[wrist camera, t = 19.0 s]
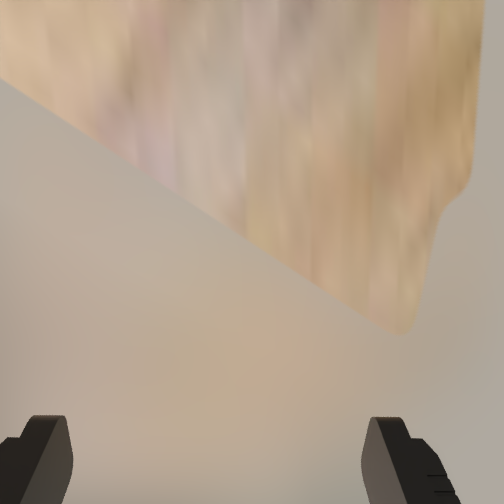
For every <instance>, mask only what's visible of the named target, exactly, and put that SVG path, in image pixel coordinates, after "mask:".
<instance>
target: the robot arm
mask: <svg viewBox="0 0 504 504" xmlns="http://www.w3.org/2000/svg"><path fill="white" fill-rule="evenodd" d="M72 468H73V452H72V448H71V442H70V437H69V432H68V426H67V421H66V418H65V416H60V415H59V416H58V415H34V416H32V417H31V418H30V419H29V421H28V422H27V424H26V426H25V428H24V430H23V432H22V434H21V436H20V438H13V437H12V438H11V437H10V438H9V437H7V438H6V439H5V440H4V441H3V442H2V443H1V444H0V504H61V503H62V501H63V498H64V496H65V493H66V490H67V487H68V485H69V482H70V479H71V475H72ZM361 468H362V476H363V481H364V484H365V487H366V491H367V494H368V498H369V502H370V504H461V503H460V500H459V498H458V497H457V496H456V495H455V490H454V488H453V486H452V484H451V482H450V480H449V479H448V478H447V473H446V471H445V469H444V467H443V465H442V463H441V461H440V459H439V457H438V455H437V454H436V453H435V452H434V451H433V450H432V449H431V447H430V446H429V445H428V444H427V443H426V442H425V441H424V440H423V439H416V438H411V437H410V435H409V433H408V430H407V428H406V426H405V423H404V422H403V420H402V419H401V418H400V417H372V418H371V419H370V422H369V426H368V430H367V434H366V439H365V443H364V447H363V452H362V459H361Z"/></svg>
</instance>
